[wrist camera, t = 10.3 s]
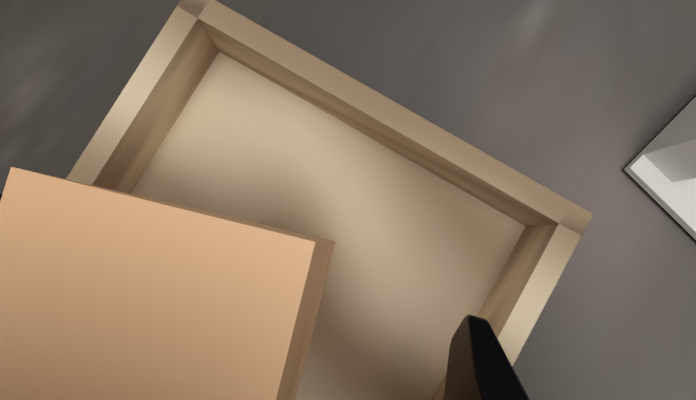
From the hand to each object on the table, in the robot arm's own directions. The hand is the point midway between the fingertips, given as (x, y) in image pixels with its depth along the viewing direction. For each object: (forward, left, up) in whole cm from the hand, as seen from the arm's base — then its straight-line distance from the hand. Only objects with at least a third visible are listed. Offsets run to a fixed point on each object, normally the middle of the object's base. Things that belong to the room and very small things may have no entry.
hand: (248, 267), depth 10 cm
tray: (-1, 0, -8) cm, 9 cm away
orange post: (-1, 0, -8) cm, 8 cm away
